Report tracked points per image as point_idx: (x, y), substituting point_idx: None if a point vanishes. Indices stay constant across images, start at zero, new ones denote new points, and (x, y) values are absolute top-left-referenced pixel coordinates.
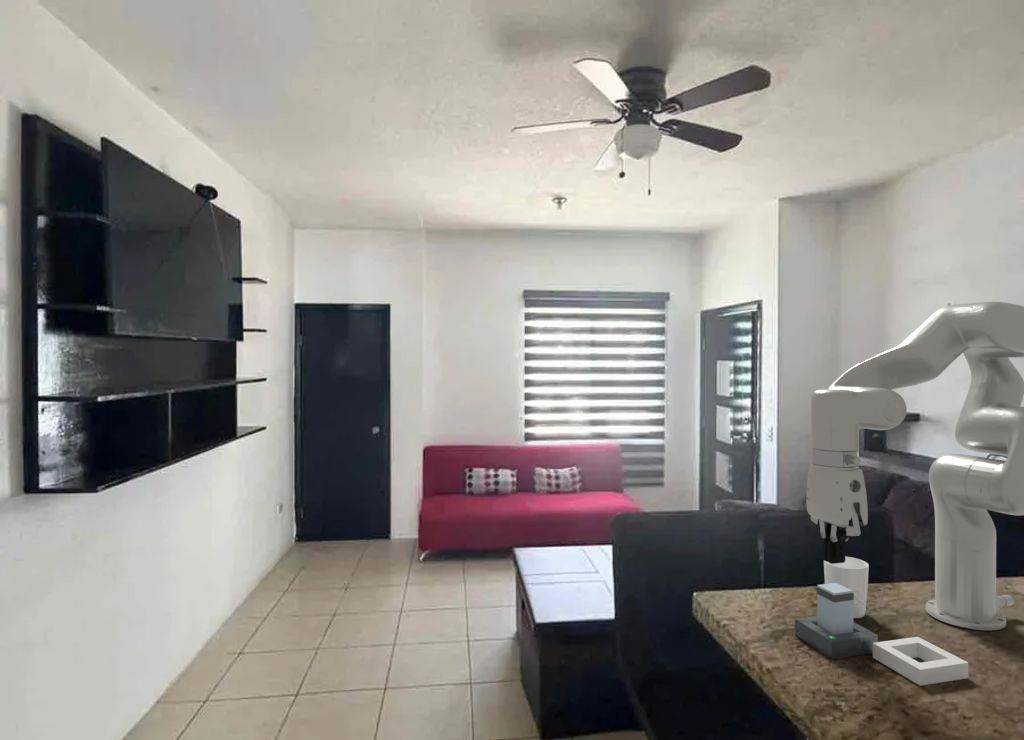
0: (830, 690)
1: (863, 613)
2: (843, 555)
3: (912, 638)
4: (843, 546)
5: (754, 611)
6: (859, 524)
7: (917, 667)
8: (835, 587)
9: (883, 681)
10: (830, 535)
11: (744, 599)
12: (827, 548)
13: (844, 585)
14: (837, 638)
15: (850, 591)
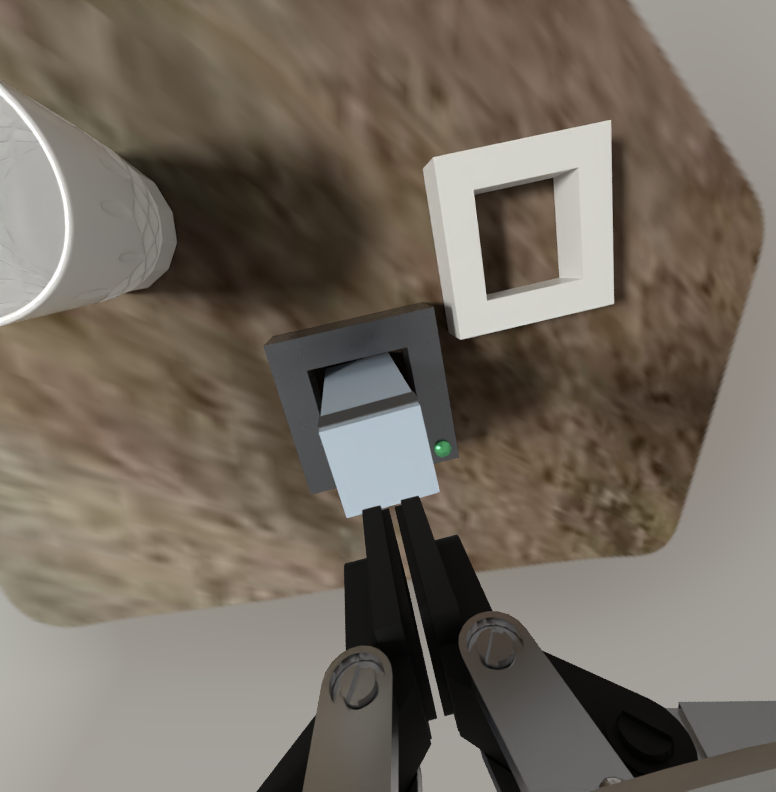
0: (566, 496)
1: (152, 184)
2: (463, 550)
3: (444, 187)
4: (485, 601)
5: (154, 521)
6: (761, 752)
7: (603, 303)
8: (378, 460)
9: (555, 373)
10: (493, 778)
11: (53, 522)
12: (423, 657)
13: (118, 268)
14: (444, 435)
15: (422, 417)
